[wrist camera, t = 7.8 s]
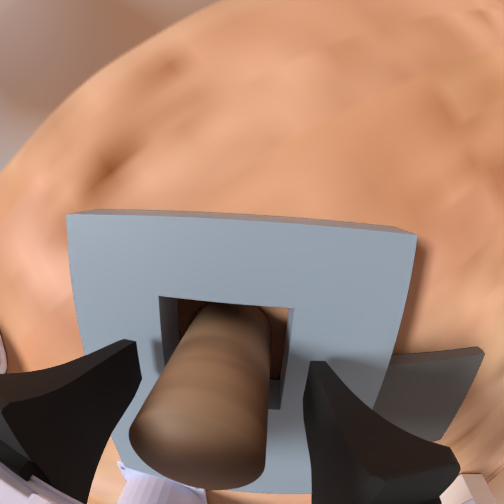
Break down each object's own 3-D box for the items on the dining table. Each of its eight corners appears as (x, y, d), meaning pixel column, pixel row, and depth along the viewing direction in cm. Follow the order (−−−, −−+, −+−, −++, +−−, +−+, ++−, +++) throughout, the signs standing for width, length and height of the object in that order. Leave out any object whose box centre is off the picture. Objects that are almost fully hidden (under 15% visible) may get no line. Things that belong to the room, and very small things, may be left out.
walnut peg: (268, 367, 14) (261, 494, 7) (195, 361, 15) (144, 476, 7) (273, 299, 14) (270, 422, 6) (191, 294, 14) (114, 398, 6)
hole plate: (327, 467, 16) (331, 494, 14) (135, 445, 17) (123, 468, 14) (393, 226, 12) (419, 235, 10) (95, 209, 13) (63, 214, 11)
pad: (436, 431, 15) (440, 439, 14) (344, 445, 16) (346, 455, 15) (477, 346, 13) (484, 353, 12) (377, 355, 14) (382, 365, 13)
